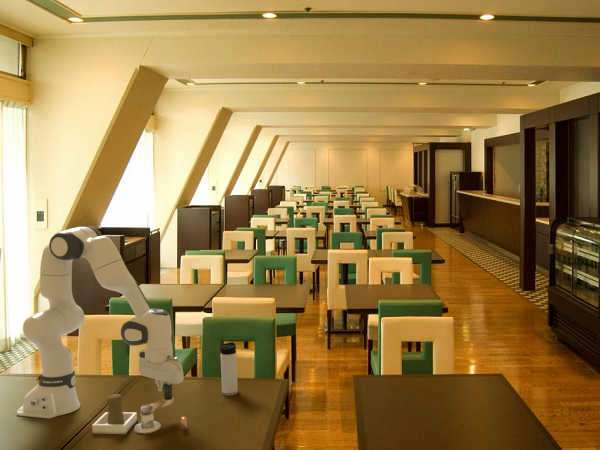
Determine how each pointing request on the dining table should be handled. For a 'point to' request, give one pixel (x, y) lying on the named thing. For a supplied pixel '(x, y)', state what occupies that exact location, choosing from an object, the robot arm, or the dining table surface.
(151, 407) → the crank
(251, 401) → the dining table surface
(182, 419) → the crank stand
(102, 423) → the tray
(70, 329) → the robot arm
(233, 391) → the travel mug
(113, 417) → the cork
